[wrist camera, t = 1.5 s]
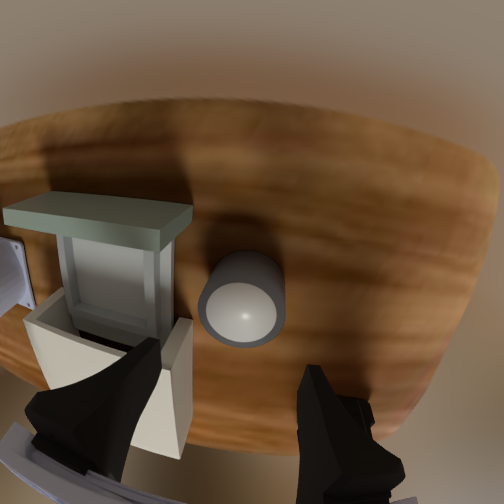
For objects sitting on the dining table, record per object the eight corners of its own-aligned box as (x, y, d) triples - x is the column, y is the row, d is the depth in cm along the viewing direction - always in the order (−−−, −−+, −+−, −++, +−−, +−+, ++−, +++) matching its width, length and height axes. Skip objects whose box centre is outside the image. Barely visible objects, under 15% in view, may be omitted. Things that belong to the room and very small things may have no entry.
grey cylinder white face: (209, 309, 22) (196, 340, 18) (214, 244, 20) (199, 267, 16) (277, 320, 22) (277, 353, 18) (290, 256, 20) (293, 282, 16)
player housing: (87, 383, 28) (64, 417, 22) (61, 286, 23) (22, 319, 17) (192, 416, 28) (180, 459, 22) (193, 319, 23) (170, 370, 17)
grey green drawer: (69, 320, 24) (36, 354, 19) (52, 191, 19) (2, 208, 14) (187, 354, 24) (167, 403, 18) (193, 205, 19) (159, 230, 13)
